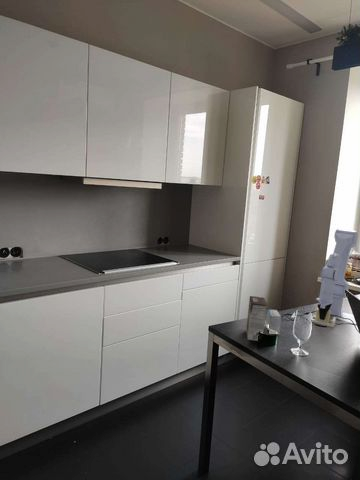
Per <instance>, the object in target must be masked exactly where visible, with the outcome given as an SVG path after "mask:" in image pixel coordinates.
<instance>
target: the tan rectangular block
mask: <svg viewBox="0 0 360 480" xmlns="http://www.w3.org/2000/svg"><path fill="white" fill-rule="evenodd" d="M330 313H331V311H328V312H327V314H326V317H325V320H321V319H320V318H319V309H318V308H317V309H316V313H315V316H316V318H315V320H319V321H323V322H327V323H330V322H329V320H330V319H331V314H330Z"/></svg>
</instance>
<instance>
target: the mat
mask: <svg viewBox="0 0 360 480" xmlns="http://www.w3.org/2000/svg"><path fill="white" fill-rule="evenodd" d="M295 312H296V311H294V312H293V313H292V315H291V316H290V318H291V319H295V318H294V317H295ZM310 316H311V318H312V316H313V315H310Z"/></svg>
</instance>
